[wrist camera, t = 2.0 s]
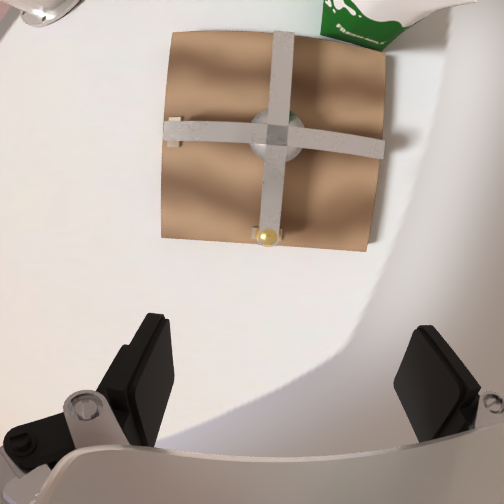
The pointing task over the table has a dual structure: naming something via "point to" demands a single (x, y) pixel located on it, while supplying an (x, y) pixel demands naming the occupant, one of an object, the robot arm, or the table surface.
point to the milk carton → (376, 19)
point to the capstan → (274, 138)
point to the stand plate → (250, 165)
